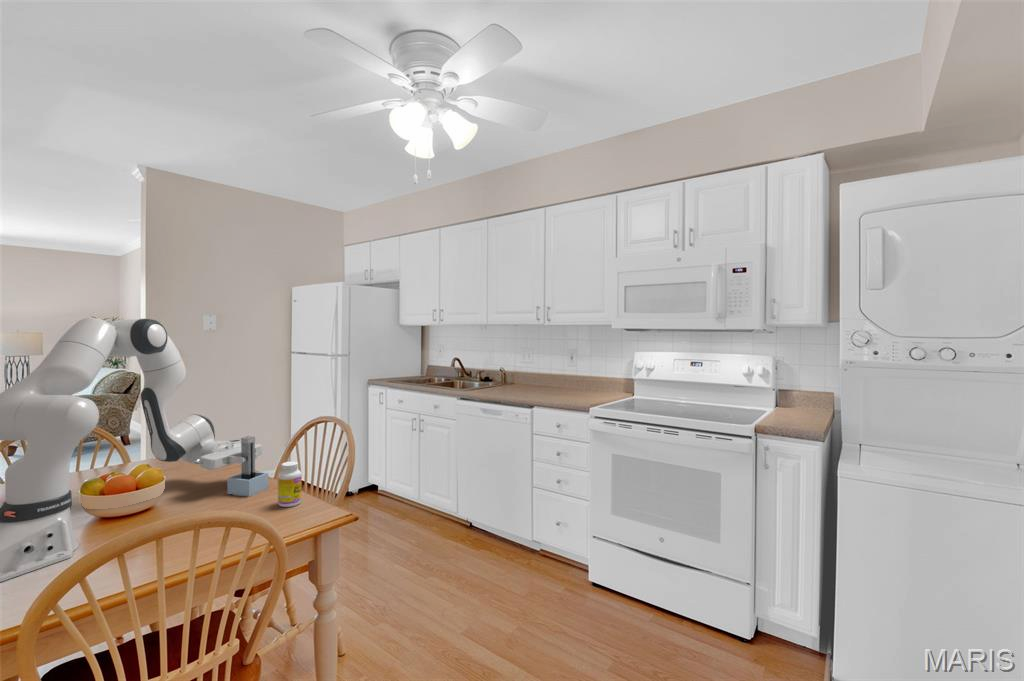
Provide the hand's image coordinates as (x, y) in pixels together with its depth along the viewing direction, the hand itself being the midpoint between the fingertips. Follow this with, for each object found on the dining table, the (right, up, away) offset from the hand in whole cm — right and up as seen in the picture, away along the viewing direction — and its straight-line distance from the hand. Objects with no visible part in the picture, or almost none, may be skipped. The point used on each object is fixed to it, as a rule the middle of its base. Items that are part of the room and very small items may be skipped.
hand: (250, 458), depth 162 cm
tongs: (-1, -7, +1) cm, 8 cm away
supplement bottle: (+18, -12, -10) cm, 24 cm away
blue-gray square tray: (-1, -11, 0) cm, 11 cm away
